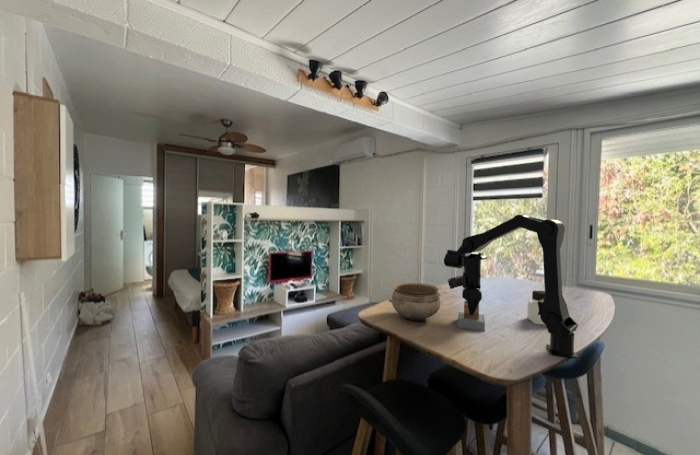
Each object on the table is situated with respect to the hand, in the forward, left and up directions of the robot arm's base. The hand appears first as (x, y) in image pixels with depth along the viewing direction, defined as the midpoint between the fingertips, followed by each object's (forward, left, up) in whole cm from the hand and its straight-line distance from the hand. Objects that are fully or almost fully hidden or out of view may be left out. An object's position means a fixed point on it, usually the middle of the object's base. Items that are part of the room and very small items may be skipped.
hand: (471, 311), depth 108 cm
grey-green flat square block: (0, 0, -5) cm, 5 cm away
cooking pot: (-1, +21, -5) cm, 21 cm away
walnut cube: (0, 0, -2) cm, 2 cm away
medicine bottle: (+15, -25, -5) cm, 30 cm away
